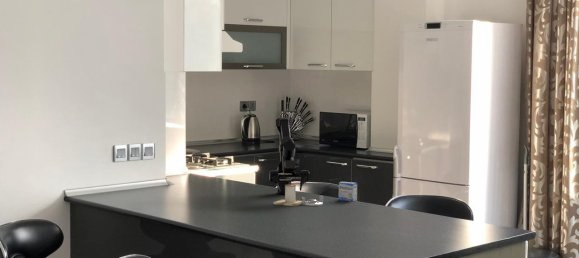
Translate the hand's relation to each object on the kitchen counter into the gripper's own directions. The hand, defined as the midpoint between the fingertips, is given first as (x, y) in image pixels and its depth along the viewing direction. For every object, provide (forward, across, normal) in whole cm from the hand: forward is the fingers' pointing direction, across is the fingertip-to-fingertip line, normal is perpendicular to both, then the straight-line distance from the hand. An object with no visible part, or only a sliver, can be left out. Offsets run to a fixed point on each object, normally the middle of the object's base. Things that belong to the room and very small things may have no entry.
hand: (290, 190), depth 372 cm
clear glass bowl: (+4, +10, +5) cm, 12 cm away
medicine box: (-2, +28, +12) cm, 31 cm away
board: (+2, -1, +7) cm, 7 cm away
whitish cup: (+3, 0, +5) cm, 6 cm away
